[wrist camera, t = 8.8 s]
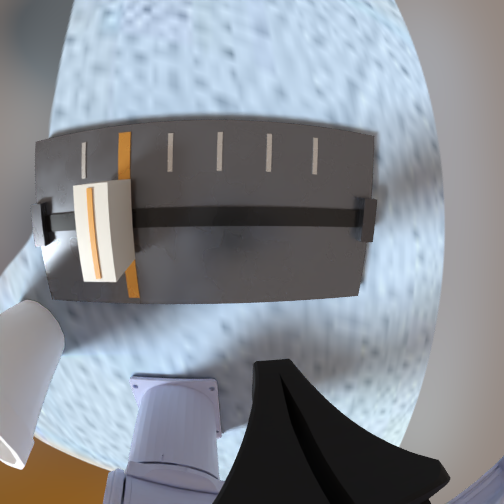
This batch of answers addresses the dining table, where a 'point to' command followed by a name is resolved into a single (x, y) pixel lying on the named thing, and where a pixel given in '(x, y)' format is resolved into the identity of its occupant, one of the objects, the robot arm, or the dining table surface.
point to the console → (214, 210)
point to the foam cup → (25, 374)
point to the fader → (104, 229)
